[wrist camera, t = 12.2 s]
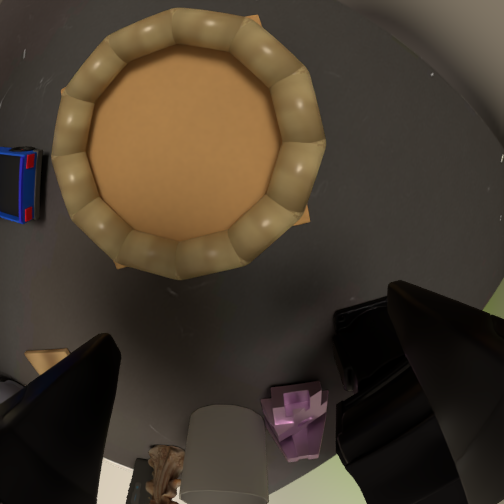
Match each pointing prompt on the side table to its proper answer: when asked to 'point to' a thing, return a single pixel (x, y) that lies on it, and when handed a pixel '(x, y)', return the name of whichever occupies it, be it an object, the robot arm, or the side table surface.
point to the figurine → (165, 473)
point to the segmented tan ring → (285, 171)
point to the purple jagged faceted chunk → (297, 419)
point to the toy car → (20, 183)
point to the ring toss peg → (45, 358)
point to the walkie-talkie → (140, 483)
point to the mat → (184, 142)
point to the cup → (225, 457)
